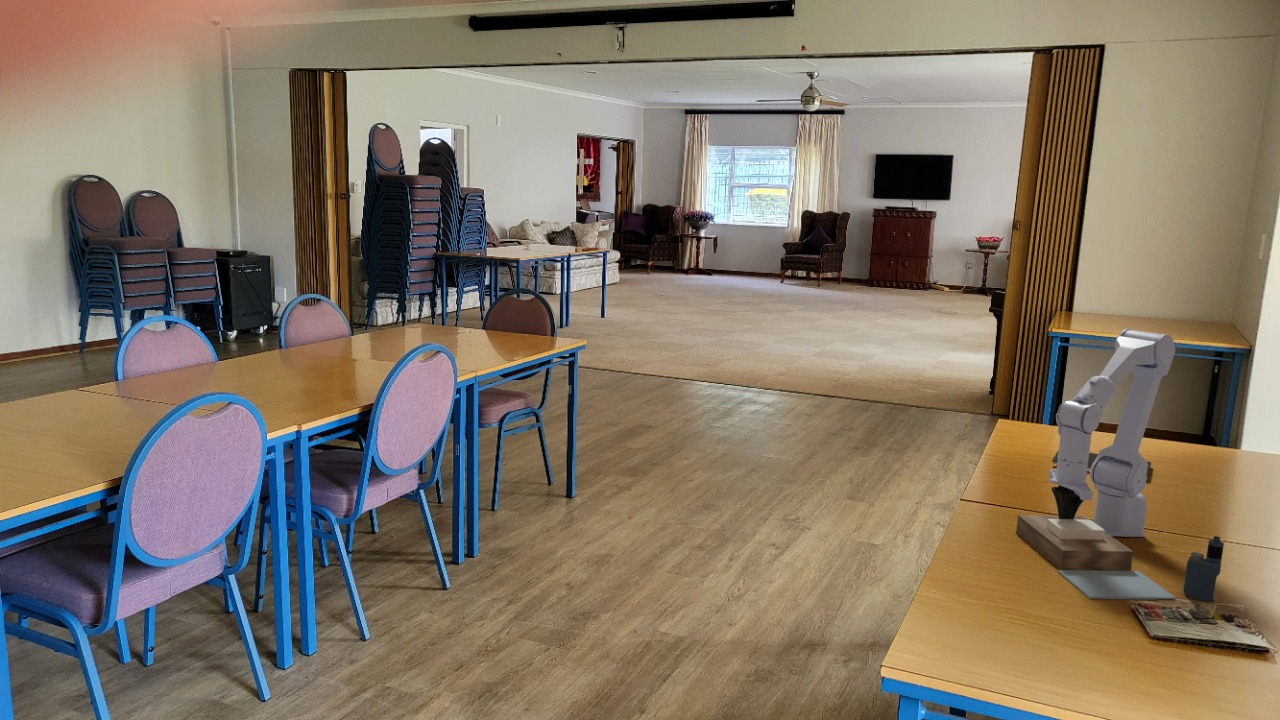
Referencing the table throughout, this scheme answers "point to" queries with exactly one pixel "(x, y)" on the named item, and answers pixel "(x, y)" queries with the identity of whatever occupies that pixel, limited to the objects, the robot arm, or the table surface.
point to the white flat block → (1075, 529)
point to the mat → (1115, 584)
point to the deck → (1074, 547)
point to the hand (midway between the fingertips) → (1065, 522)
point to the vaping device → (1203, 572)
